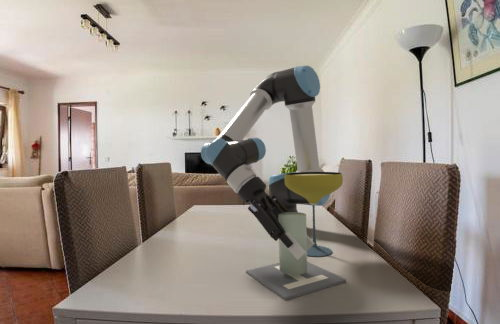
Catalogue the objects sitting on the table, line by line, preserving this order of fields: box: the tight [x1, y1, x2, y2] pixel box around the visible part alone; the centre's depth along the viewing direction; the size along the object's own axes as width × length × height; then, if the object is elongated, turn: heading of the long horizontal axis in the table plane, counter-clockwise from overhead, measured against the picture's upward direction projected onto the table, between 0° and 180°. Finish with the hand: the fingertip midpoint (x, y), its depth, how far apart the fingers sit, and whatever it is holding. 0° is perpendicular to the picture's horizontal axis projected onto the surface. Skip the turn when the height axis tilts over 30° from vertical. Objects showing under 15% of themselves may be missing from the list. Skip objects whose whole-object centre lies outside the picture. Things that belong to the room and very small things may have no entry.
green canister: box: [278, 212, 308, 275], centre depth 77 cm, size 7×7×14 cm
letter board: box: [245, 261, 347, 301], centre depth 78 cm, size 18×18×1 cm
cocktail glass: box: [285, 171, 344, 258], centre depth 97 cm, size 18×18×25 cm
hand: (306, 251), depth 76 cm, fingers closed on green canister, 7 cm apart
